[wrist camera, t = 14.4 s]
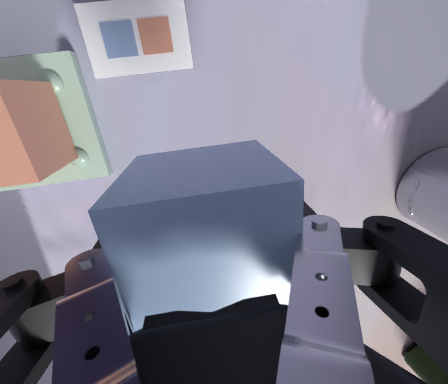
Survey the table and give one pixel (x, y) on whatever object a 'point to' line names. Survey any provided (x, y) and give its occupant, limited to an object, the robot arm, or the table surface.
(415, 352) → the character mug
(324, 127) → the table surface
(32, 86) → the brick terracotta
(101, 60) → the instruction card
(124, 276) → the brick blue
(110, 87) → the table surface
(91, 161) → the baseplate
